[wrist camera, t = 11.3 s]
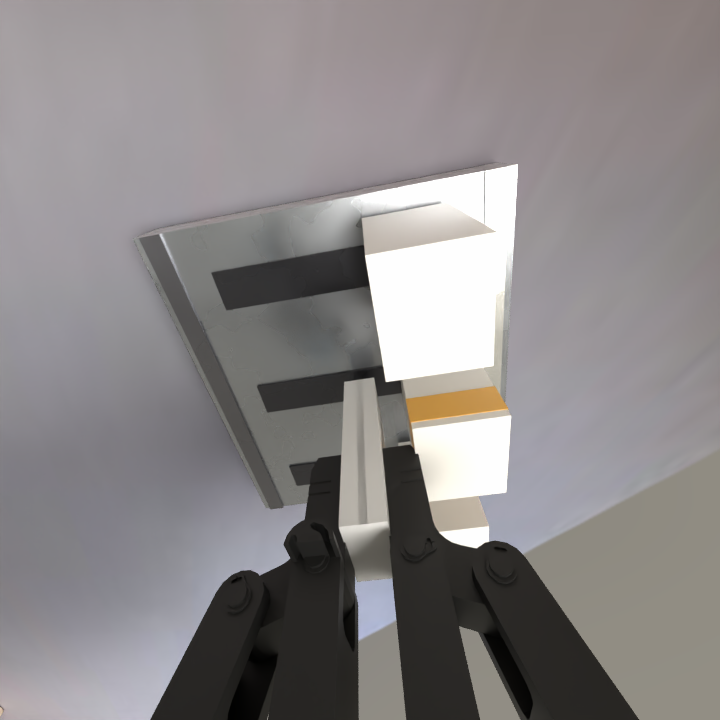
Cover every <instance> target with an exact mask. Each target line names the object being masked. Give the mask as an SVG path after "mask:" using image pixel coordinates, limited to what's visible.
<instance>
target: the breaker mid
mask: <svg viewBox="0 0 720 720" xmlns="http://www.w3.org/2000/svg"><path fill="white" fill-rule="evenodd" d="M400 381H401V388H402V395H403V402H404V409H405V416H406V421H407V426H408V432H409V437H410V442H411V446H412V447H413V448H414V450H415V454H417V453H418V455H419V459H420V463H421V468H422V472H423V477H424V482H425V486H426V491H427V495H428V500H429V502H431V501H440V500H448V499H456V498H465V497H473V496H481V495H489V494H498V493H506V487H507V471H508V456H509V441H510V426H511V414H510V413H509V411H508V407H507V406H506V404H505V402H504V401H503V399H502V397H501V395H500V394H499V392H498V390H497V389H496V387H495V386H494V385H493V383H492V382H491V380H490V378H489V377H488V375H487V373H486V371H485V370H484V368H477V369H470V370H464V371H457V372H450V373H444V374H437V375H430V376H423V377H417V378H410V379H403V380H400Z"/></svg>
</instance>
